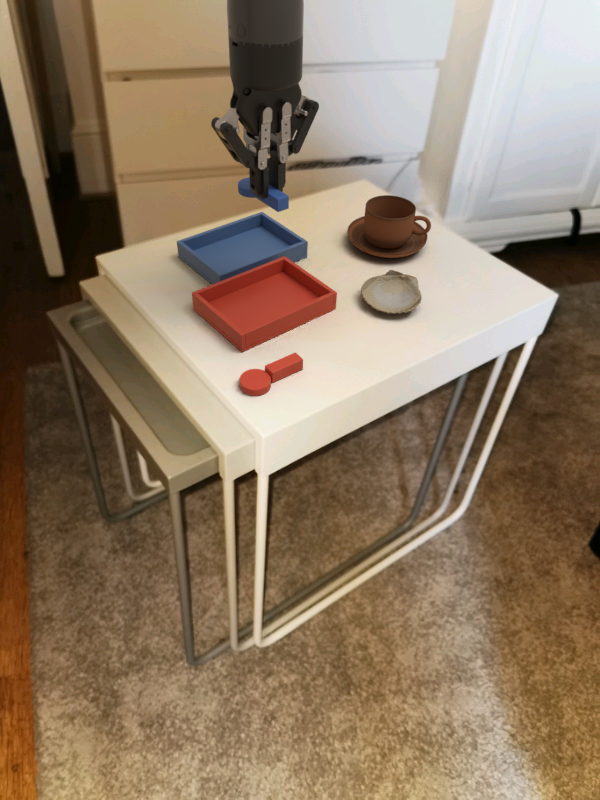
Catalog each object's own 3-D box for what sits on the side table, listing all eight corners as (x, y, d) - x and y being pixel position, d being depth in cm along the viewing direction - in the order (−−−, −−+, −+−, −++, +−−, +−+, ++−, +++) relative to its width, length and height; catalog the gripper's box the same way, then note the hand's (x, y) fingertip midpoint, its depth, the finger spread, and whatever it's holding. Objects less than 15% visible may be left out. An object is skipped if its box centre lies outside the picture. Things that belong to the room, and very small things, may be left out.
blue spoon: (232, 189, 78) (231, 177, 77) (256, 182, 80) (256, 169, 79) (271, 214, 74) (270, 201, 73) (295, 206, 75) (295, 193, 74)
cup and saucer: (414, 223, 102) (420, 186, 98) (434, 263, 94) (442, 225, 89) (340, 226, 101) (343, 189, 97) (354, 267, 92) (357, 228, 88)
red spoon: (250, 400, 72) (250, 389, 71) (233, 382, 74) (233, 372, 73) (308, 374, 75) (308, 363, 74) (290, 357, 77) (290, 347, 76)
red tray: (241, 352, 78) (241, 335, 76) (193, 309, 84) (191, 292, 82) (336, 308, 85) (337, 292, 83) (284, 271, 91) (284, 255, 89)
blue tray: (220, 292, 87) (219, 275, 85) (178, 257, 93) (176, 241, 91) (307, 257, 94) (308, 241, 92) (262, 226, 100) (262, 211, 98)
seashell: (354, 316, 87) (406, 327, 82) (349, 298, 85) (402, 308, 80) (385, 281, 91) (435, 289, 86) (381, 263, 89) (432, 270, 84)
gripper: (296, 12, 69) (294, 168, 81) (186, 31, 63) (201, 197, 75) (342, 28, 65) (332, 190, 77) (229, 50, 58) (237, 223, 70)
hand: (267, 193), depth 76 cm, fingers closed on blue spoon, 1 cm apart
